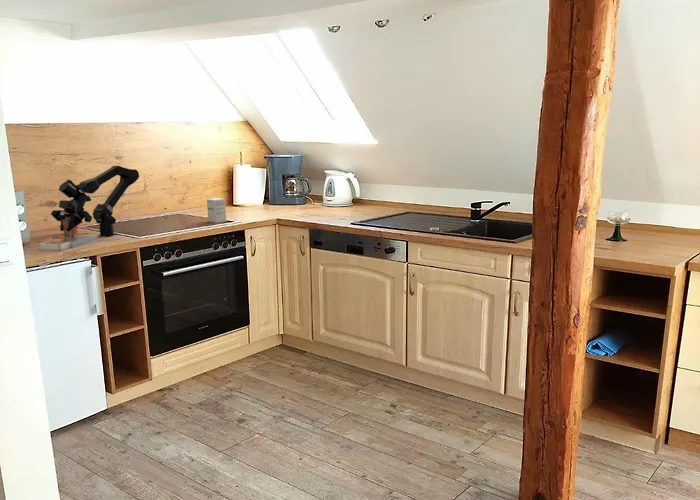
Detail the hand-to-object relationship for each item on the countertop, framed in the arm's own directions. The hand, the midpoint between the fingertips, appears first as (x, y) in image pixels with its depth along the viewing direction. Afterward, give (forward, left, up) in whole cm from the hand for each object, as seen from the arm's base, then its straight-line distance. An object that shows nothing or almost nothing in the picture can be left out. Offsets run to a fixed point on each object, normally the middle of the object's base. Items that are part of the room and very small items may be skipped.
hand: (64, 230), depth 285 cm
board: (-4, 0, -7) cm, 8 cm away
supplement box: (-71, +41, -7) cm, 82 cm away
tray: (+7, 0, -7) cm, 10 cm away
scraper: (-1, 0, -5) cm, 5 cm away
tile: (+5, 0, -5) cm, 7 cm away
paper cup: (-27, -19, -7) cm, 34 cm away
